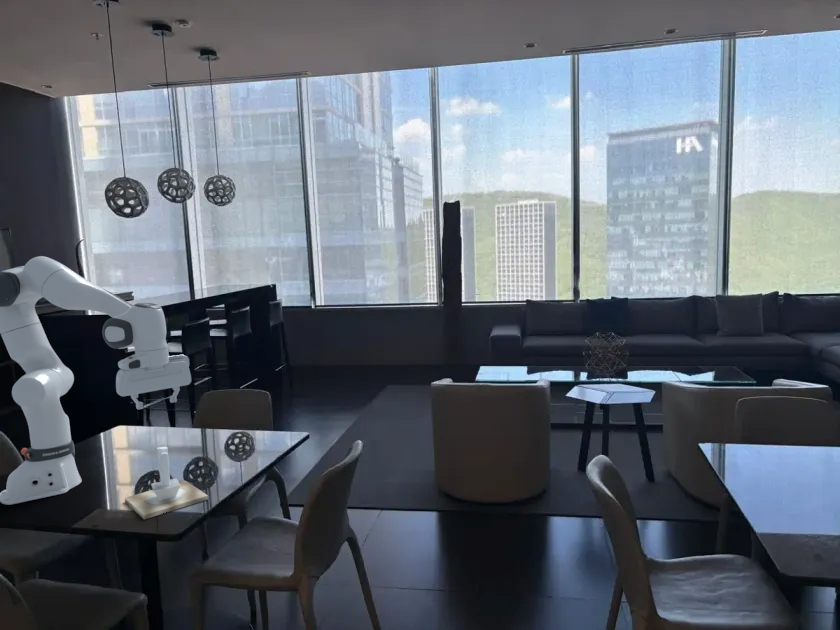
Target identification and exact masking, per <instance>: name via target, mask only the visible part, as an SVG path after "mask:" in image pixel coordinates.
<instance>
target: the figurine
mask: <svg viewBox="0 0 840 630" xmlns="http://www.w3.org/2000/svg"><path fill="white" fill-rule="evenodd" d="M156 456H157V467H158V473H159V478H160V479H159V480H160V481H158V482H153V483H150V485H151V488H152V490H153V491H154V493H155V494H156V496H157V497H158V499H159V500H160V501H161V500H165V499H169V498H174V497H176V495H177V493H178V490H179V488H180V483H179V482H180V481H179V480H178V478H177V477H176V478H171V476H170V457H169V448H168V447H167V446H160V447H156Z"/></svg>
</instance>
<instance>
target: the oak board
mask: <svg viewBox="0 0 840 630" xmlns="http://www.w3.org/2000/svg"><path fill="white" fill-rule="evenodd" d="M179 483H180V488H179V490H178V493H177V495H176V497H174V498H169V499H165V500H161V501H160V500H159V499H158V497H157V496H156V494H155V493H154V491H153V489H151V490H146V491H144V492H141V493H137V494H134V495H133V494H132V495H131V496H126V497H124V502H125V503H126V504H127V505H128V506H129V507H130V508H131V509H132V510H133V511H134V512H135V513H136V514H138V515H139V517H141V518H142V519H143V520H147V519H150V518H154V517H156V516H160V515H163V513H164V514H167V513H170V512H173V511H176V510H179V509H182V508H185V507H188V506H192V505H195V504H198V503H201V502H204V501H207V500H209V495H208V494H206V493H204V491H202V490H201V489H199V488H198V487H196V486H195V485H193V484H192V483H190V482H189V481H187V480H183V481H179ZM166 512H167V513H166Z"/></svg>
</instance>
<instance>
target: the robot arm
mask: <svg viewBox="0 0 840 630" xmlns="http://www.w3.org/2000/svg"><path fill="white" fill-rule="evenodd" d="M38 301H39V302H40V303H44V302H45V301H48V302H49V303H51V304H52V305H53V306H56V307H59V308H61V309H64V310H68V311H91V312H92V311H93V312H99V313H102V314H105V315H108V316H109V317H110V318H108V319H106V321H105V322H104V324H103V326H102V332H101V333H102V338H103V340H104V341H105V343H106V345H107V346H109V347H110V348H112V349H115V350H116V349H119V350H121V349H122V350H123V349H127V348H131V347H132V348H134V354H132V355H130V356H127V357H125V358H124V359H120V360H119V361H118V362H117V366H118V368H119V370H118V371H117V373H116V376H115V390H116V391H115V392H116V393H117V395H119V396H120V397H127V396H128V397H129V396H130V398H131V400H133V402H134V403H135V407H136V409H137V410H142V409H144V402H142V401H139V400H138V398H139V394H145V393H151V392H157V391H161V390H167V389H172V390H173V393H172V395H169V402H170V403H171V404H172V403H177V402H178V399H177V396H178V395H179V392H180V391H181V389H180V387H183V386H184V387H185V386H188V385H190V384H191V383H192V374H191V371H190V368H189V367H190V358H189V357H188V356H187V355H184V354H179V355H178V354H177V355H170V354H169V352H170V351H169V345H168V343H167V339H166V338H167V334H168V333H167V332H168V331H167V323H166V317H165V314H164V310H163V308H162V306H160V305H159V304H156V303H153V302H138V303H135V304H131V303H129V302H128V301H126V300H125V299H123V298H121V296H120V297H119V296H118V295H117V294H115V293H113V292H111V291H110V290H106V289H105V288H103V287H101V286H99V285H97V284H94V283H93V282H91V281H89V280H88V279H86V278H85V277H83V276H81V275H79V274H78V273H76V271H73V270H72V269H71V268H70V267H67V266H66V265H64V264H63V263H61V262H59V261H57V260H55V259H53V258H50V257H47V256H42V255H40V256H35V257H32V258H31V259H29V260H28V261H27V262H26V263H25V265H21V266H15V267H13V268H9V269H6V270H5V269H4V270H0V336H1V338H2V340H3V343H4V345H5V348H6V350H7V352H8V354H9V356H10V358H11V360H13V361H14V362H15V363H17V364H18V365H19V366H20V367H21V368H22V370H23V371H24V372H25V374H24V375H22V376H21V377H20V378H19V379H18V380H17V381H16V382H15V383H14V384H13V386H12V388H11V389H12V390H11V397H12V399H13V401H14V402H15V403H16V404H17V405H18V406H20V408H21V410H22V411H23V412H22V413H23V414H24V416H25V419H26V422H27V426H28V430H29V431H28V432H29V440H30V446H31V447H29V448H27V447H22V449H21V450H20V453H21V455H23V456H24V461H23V462H22V463H21V464H20V465H18V467H17V468H15V469H14V470H13V471H12V472H11V473H10V474H9V475H8V477H7V481H6V487H5V488H6V489H3V490H2V491H1V492H0V503H1V504H3V505H10V506H11V505H15V504H20V503H25V502H28V501H33V500H38V499H43V498H47V497H52V496H57V495H61V494H65V493H67V492H68V491H69V490H71V489H73V488H75V487H76V486H78V485H80V484H81V483H82V481H83V480H82V478H81V475H80V473H79V471H78V467H77V465H76V461H75V455H76V452H75V451H76V450H75V444H74V440H72V435H71V425H70V419H69V416H68V414H66V413H65V411H64V409H63V407H62V404H61V401H60V400H61V399H60V398H61V397H62V396H64V395H66V394H67V393H68V392H69V390H71V388H72V386H73V384H74V381H75V376H74V373H73V371H72V370H71V369H70V368H69V367H67V366H66V365H65V364H64V363H63V362H62V360H61V358H59V356H58V355H57V353H56V352H55V350H54V349H53V347H52V345H51V344H50V342H49V340H48V338H47V335H46V333H45V330H44V328H43V327H44V326H42V325H43V324H42V323H41V321H40V319H39V316H38V313H37V312H36V304H37V302H38Z"/></svg>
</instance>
